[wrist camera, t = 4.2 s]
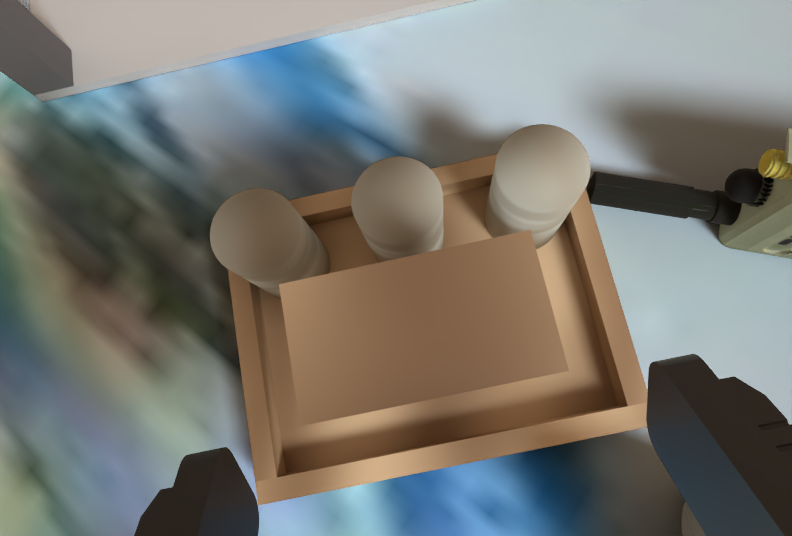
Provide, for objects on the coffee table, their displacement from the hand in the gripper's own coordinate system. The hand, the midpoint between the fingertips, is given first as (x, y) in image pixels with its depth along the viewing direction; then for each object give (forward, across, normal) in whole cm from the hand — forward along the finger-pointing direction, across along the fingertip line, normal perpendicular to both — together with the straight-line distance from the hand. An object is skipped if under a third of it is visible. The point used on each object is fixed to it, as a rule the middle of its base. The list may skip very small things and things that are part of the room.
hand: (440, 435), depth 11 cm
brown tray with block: (+11, 0, +6) cm, 13 cm away
